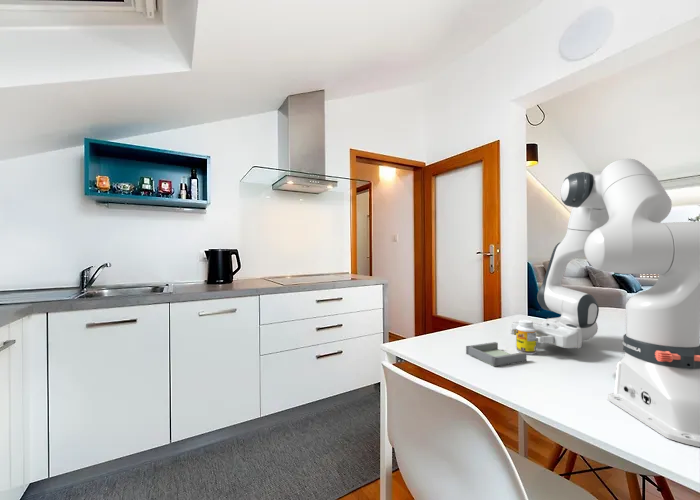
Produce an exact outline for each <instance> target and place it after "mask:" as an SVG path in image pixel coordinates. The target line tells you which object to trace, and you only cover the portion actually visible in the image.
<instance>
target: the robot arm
mask: <svg viewBox="0 0 700 500" xmlns="http://www.w3.org/2000/svg"><path fill="white" fill-rule="evenodd" d="M560 199H561V201H562V203H563V204H564V205H565V206H567V207H570V208H572V209H571V211H570V214H569V218H568V223H567V229H566V233H565V235H564V237H563V238H562V240H561V241H560V242H558V243H557V244H556V245H555V247H554V248H553V250H552V253H551V256H550V258H549V261H548V265H547V268H546V271H545V274H544V279H543V281H542V283H541V284H540V287H539V289H538V291H537V294H536V295H537V297H536V299H537V302H538V304H539V306H540V307H541V309H543V310H546V311H548V312H552V313H556V314H559V315H560V316H558V317H551V318H546V319H543V321H542V322H541V323H537V322H536V323H535V322H533V327H534V328H535V329H536V343H539V344H543V343H544V344H548V345H551V346H557V347H560V348H563V349H582V345H583V344H582V342H585V341H588V340H591V338H594V337H595V335H596V334H597V333H598V330H599V326H598V322H597V320H598V317H599V312H600V311H599V310H600V309H599V305H598V302H597V300H596V298H595V297H594V296H593V295H592V294H589V293H586V292H583V291H580V290H575V289H572V288H569V287H565V286H563V285H562V281H563V277H564V275H565V271H566V269H567V266H568V264H569V263H570V262H571V261H573V260H575V259H579V258H584V257H585V258H586V260H587V262H588V263H589V264H590V266H592V267H593V268H594V269H595V270H597V271H601V272H602V271H603V272H608V273H613V274H614V273H615V274H621V275H658V277H657V281H656V282H655V284H653V285H652V286H651V288H648V289H645V290H644V291H640V292H637V293H635V294H634V295H632V296H631V297H630V298H629V299H628V300H627V301H626V303H625V333H624V334H623V337H622V338H623V339H622V345H623V348H622V349H623V350H622V351H623V352H624V355H623V356H622V358H621V359H620V360H619V361H618V362H617V364H616V370H615V382H614V383H615V384H614V392H611V393H608V396H607V400H608V401H609V402H610V403H612V404H613V405H615V406H617V407H619V408H620V409H622V410H623V411H624V412H626V413H628V414H629V415H631V416H632V417H633V418H635V419H637V420H638V421H640V422H641V423H643V424H644V425H646V426H648V427H649V428H651V429H653V431H655V432H657V433H659V434H660V435H662V436H663V437H665V438H667V439H669V440H673V441H676V442H678V443H682V444H686V445H690V446H694V447H699V448H700V221H679V222H677V221H675V222H663V221H664V220H665V219H666V218H667V217H668V216H669V214H670V213H671V210H672V205H673V204H672V199H671V197H670V196H669V194H668V192H667V191H666V190H665V188H664V187H663V185H662V183H661V182H660V180H659V179H658V177H657V176H656V175H655V174H654V172H653V171H652V170H651V169H650V168H649V167H648V166H647V165H645V164H644V163H642V162H641V161H640V160H638V159H634V158H622V159H617V160H615V161H613V162H611V163H609V164H608V165H607V166H605V167H604V168H603V169H602V171H601V170H599V171H589V172H585V171H581V172H574V173H571V174H569V175H568V176H566V177H565V178H564V180H563V182H562V184H561V187H560ZM517 326H519V321H513V322H511V329H510V334H511V335H512V336H516V327H517Z"/></svg>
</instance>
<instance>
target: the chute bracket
mask: <svg viewBox="0 0 700 500" xmlns="http://www.w3.org/2000/svg"><path fill="white" fill-rule="evenodd" d="M465 351H466V352H465V355H468V356H470V357H472V358H474V359H477V360H479V361H481V362H483V363H484V364H487V365H490V366H492V367H494V368H498V367H504V366H509V365H514V364H515V365H516V364H520V363H526V362H527V354H526V353H525V352H521V353H519V352H517V353H508V352H507V351H504V350H501V349H499V344H498V342H497V341H493V342H485V343H479V344H473V345H466V346H465Z"/></svg>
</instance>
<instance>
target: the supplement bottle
mask: <svg viewBox="0 0 700 500" xmlns="http://www.w3.org/2000/svg"><path fill="white" fill-rule="evenodd" d="M518 322H519V326H517V327H516V335H515V336H516V343H515V344H516V346H515V347H516V351H517V353H521V352H525V353H526V355H532V356H533V355H535V354H536V353H537V342H536V329H535V328H534V327H533V323H534V322H533V321H532V320H529V319H519V320H518Z"/></svg>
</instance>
